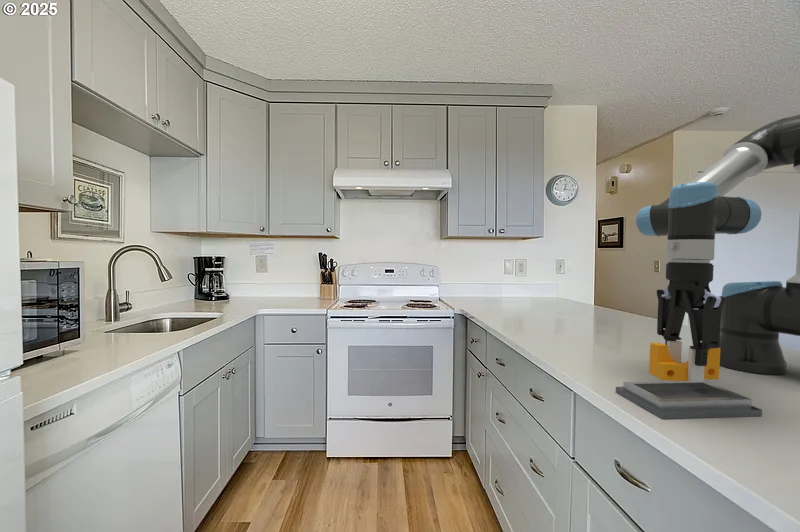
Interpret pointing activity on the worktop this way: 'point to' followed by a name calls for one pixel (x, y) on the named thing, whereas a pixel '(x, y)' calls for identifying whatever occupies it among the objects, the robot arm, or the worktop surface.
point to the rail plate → (687, 399)
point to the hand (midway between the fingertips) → (683, 376)
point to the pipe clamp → (679, 364)
